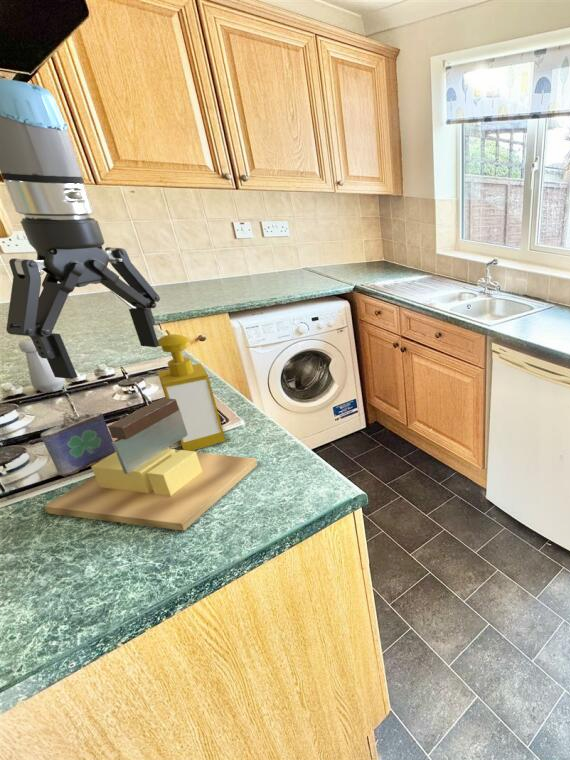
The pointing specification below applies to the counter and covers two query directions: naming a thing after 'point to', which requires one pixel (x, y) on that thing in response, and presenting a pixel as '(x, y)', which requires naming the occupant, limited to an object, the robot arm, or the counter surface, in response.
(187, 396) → the soap bottle
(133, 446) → the dough scraper
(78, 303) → the counter surface
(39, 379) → the salt shaker
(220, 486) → the butter board
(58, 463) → the flask
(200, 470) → the butter pat
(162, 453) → the butter block
